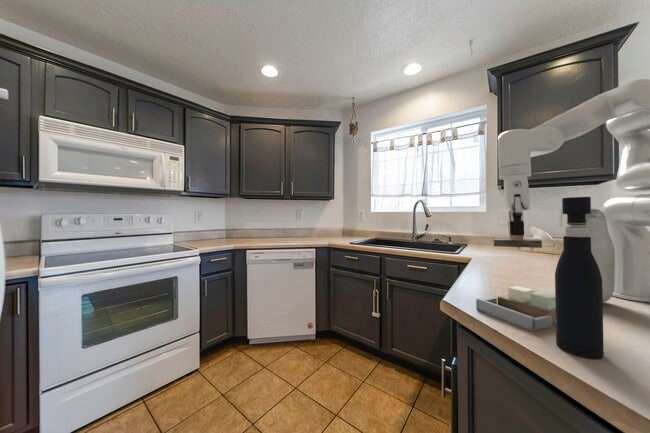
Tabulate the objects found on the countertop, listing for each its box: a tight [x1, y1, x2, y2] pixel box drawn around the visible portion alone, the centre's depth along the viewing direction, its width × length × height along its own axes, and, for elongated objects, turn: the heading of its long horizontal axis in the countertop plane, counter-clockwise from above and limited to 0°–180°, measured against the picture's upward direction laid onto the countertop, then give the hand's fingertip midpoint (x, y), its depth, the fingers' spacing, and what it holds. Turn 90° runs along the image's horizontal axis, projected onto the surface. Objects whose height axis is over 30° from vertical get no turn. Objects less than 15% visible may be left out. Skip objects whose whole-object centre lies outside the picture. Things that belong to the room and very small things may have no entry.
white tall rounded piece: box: [567, 207, 615, 303], centre depth 72 cm, size 10×10×28 cm
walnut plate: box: [497, 294, 556, 324], centre depth 66 cm, size 12×12×3 cm
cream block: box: [507, 285, 535, 303], centre depth 67 cm, size 4×4×3 cm
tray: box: [475, 297, 553, 332], centre depth 63 cm, size 7×14×3 cm, turn 19°
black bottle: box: [554, 196, 605, 360], centre depth 47 cm, size 6×6×30 cm
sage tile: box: [530, 291, 556, 310], centre depth 62 cm, size 4×4×3 cm
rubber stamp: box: [493, 212, 543, 249], centre depth 72 cm, size 11×3×10 cm, turn 58°
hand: (516, 233), depth 72 cm, fingers closed on rubber stamp, 3 cm apart
